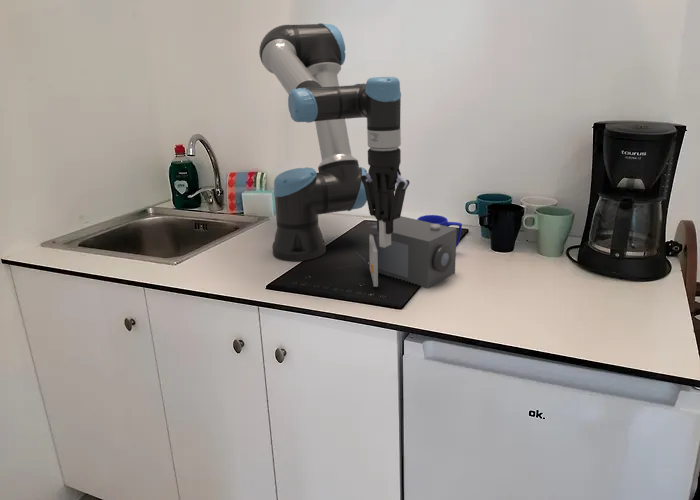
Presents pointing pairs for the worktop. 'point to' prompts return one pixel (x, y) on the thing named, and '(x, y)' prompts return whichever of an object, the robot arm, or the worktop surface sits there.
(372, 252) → the door
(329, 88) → the robot arm
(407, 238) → the camera body
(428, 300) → the worktop surface
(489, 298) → the worktop surface
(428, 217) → the mug
